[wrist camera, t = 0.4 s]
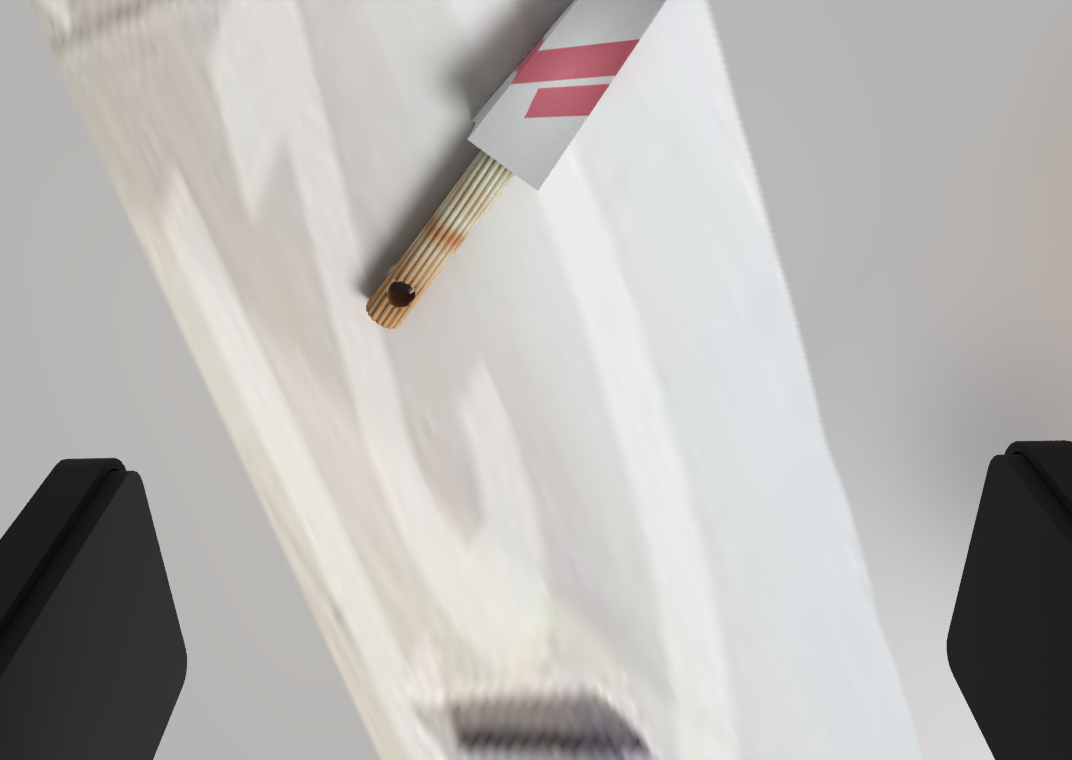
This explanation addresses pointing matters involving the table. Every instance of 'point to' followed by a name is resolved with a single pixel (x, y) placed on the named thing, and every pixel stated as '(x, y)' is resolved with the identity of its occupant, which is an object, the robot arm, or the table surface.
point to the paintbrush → (522, 133)
